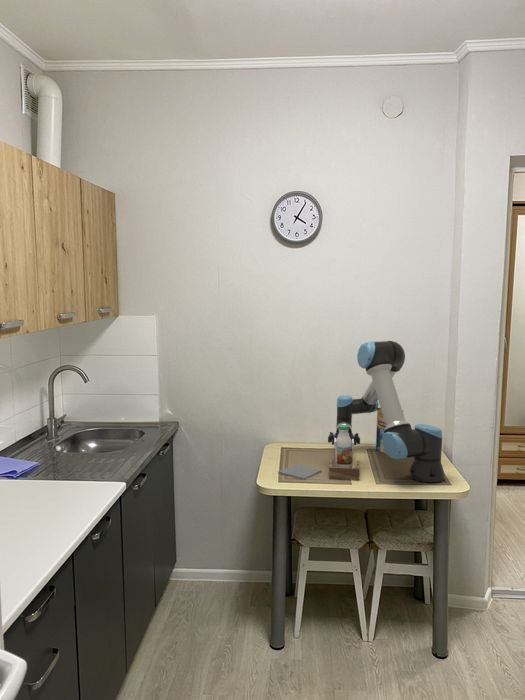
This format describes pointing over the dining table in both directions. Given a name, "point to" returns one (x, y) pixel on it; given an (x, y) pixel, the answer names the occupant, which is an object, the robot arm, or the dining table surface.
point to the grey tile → (299, 471)
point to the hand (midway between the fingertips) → (344, 445)
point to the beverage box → (380, 430)
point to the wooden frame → (343, 472)
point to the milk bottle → (343, 448)
